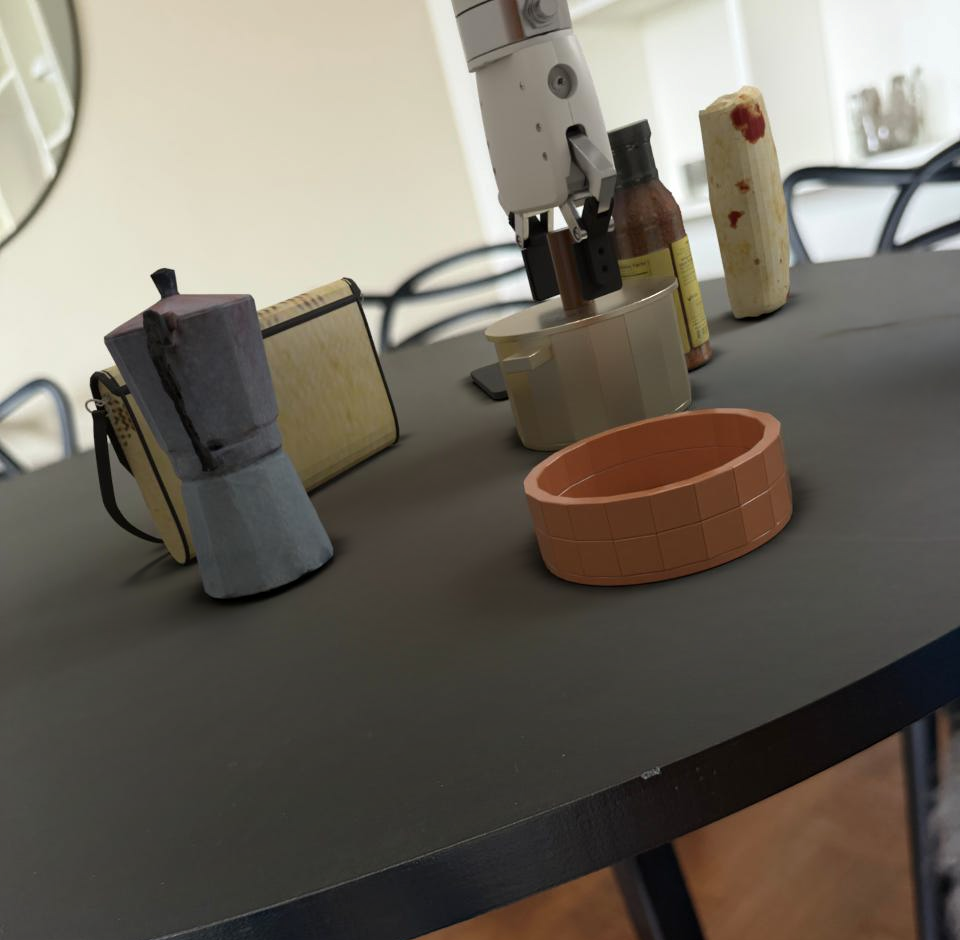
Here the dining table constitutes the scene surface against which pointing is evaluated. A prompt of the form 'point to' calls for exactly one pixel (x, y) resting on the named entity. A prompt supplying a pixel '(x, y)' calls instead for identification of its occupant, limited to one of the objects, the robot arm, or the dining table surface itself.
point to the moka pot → (221, 437)
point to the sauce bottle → (655, 234)
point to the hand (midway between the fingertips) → (576, 294)
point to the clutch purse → (300, 398)
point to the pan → (661, 497)
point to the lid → (576, 299)
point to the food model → (747, 201)
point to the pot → (596, 377)
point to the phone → (491, 380)
